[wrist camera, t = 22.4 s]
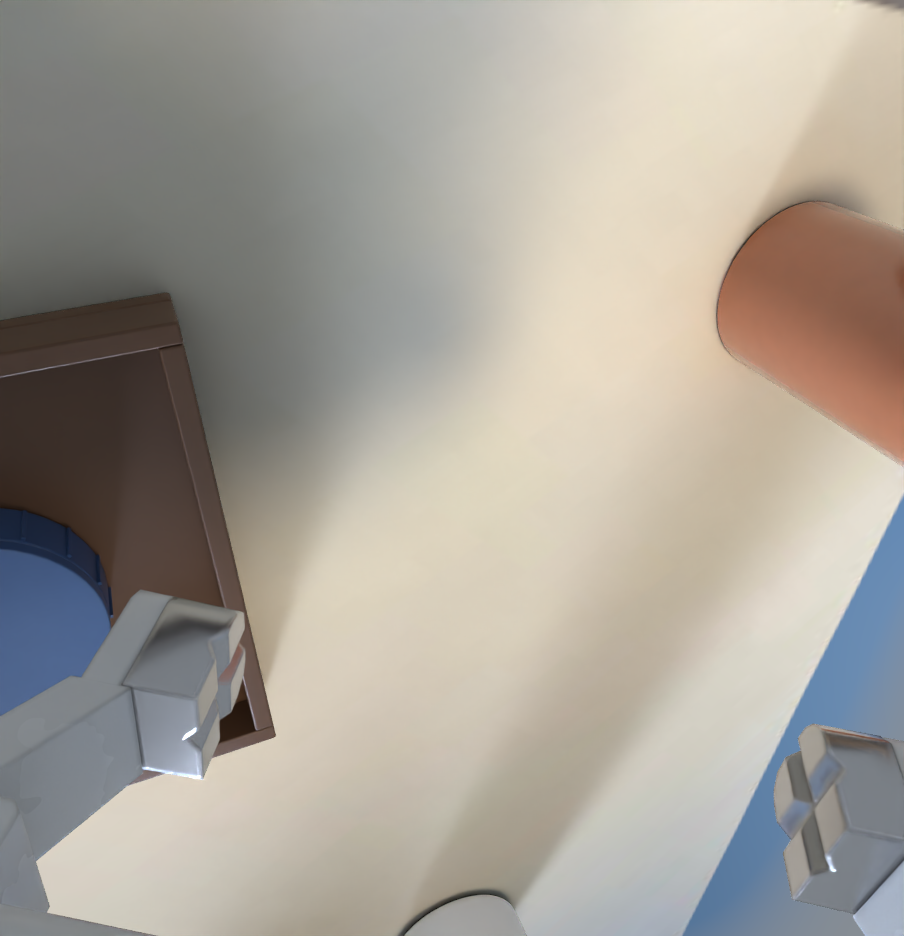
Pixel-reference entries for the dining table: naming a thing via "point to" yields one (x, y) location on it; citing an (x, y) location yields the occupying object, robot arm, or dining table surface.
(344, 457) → the dining table surface
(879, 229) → the jar
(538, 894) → the dining table surface
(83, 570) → the jar lid
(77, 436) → the tray
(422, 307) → the dining table surface
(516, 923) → the bath foam
